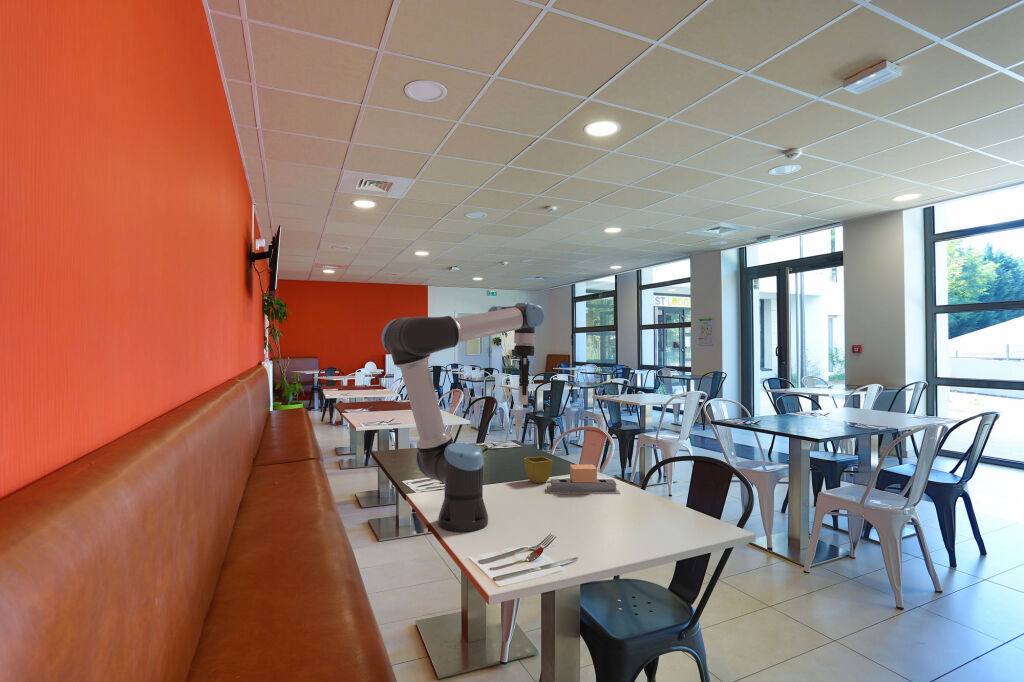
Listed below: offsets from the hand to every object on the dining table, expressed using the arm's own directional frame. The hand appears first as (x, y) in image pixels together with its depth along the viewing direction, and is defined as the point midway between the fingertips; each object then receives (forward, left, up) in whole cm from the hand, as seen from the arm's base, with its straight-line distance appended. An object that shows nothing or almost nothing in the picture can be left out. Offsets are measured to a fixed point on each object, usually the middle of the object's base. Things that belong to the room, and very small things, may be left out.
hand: (523, 402), depth 191 cm
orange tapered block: (+4, -23, -33) cm, 40 cm away
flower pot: (+16, -7, -34) cm, 38 cm away
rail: (+4, -23, -33) cm, 41 cm away
